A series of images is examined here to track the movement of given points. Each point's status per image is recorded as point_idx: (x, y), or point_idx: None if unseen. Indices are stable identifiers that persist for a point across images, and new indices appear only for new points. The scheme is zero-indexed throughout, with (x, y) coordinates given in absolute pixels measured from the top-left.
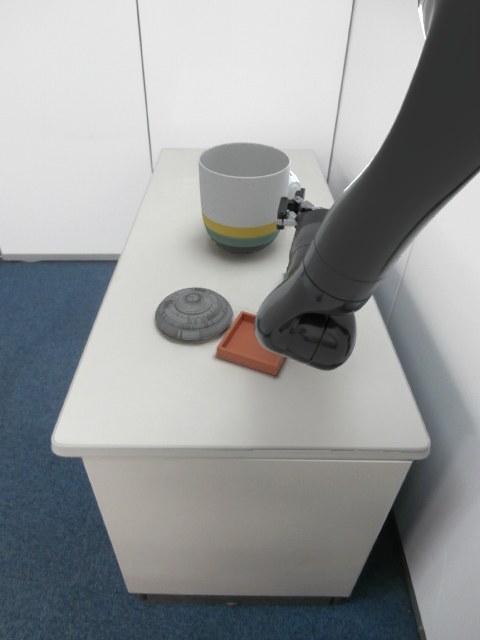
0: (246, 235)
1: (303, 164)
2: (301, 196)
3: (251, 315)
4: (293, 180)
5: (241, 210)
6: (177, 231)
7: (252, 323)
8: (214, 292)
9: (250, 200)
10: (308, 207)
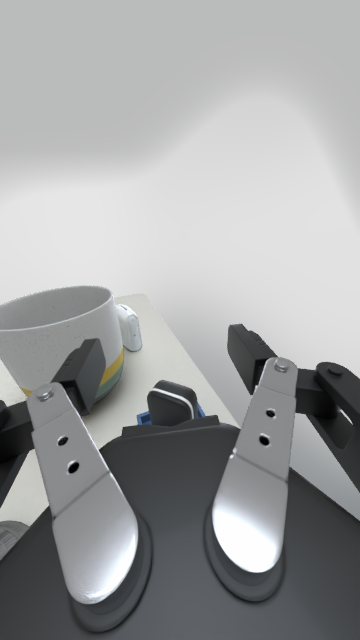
0: None
1: (142, 300)
2: (71, 377)
3: None
4: (129, 313)
5: (52, 369)
6: (13, 392)
7: None
8: (3, 543)
9: (60, 354)
10: (52, 498)
